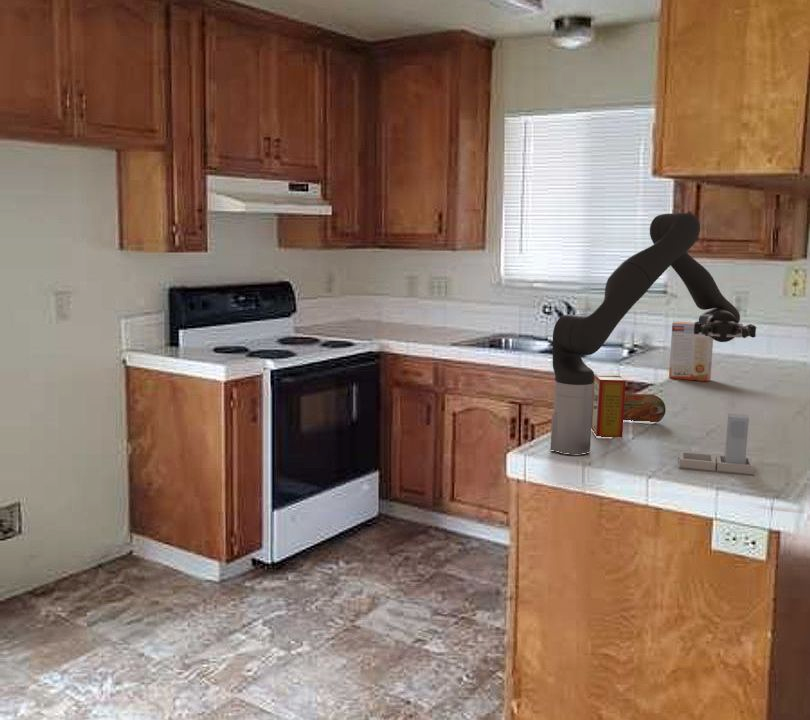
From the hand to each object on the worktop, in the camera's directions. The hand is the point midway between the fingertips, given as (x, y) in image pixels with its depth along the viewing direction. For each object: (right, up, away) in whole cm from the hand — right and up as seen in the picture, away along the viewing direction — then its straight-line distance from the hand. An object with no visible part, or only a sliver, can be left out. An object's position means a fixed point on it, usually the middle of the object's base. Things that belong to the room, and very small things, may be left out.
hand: (725, 332), depth 208 cm
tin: (-11, -25, +39) cm, 47 cm away
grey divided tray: (-6, -32, -10) cm, 34 cm away
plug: (-2, -31, -12) cm, 33 cm away
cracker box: (+29, -14, +114) cm, 119 cm away
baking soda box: (-23, -27, +23) cm, 42 cm away
